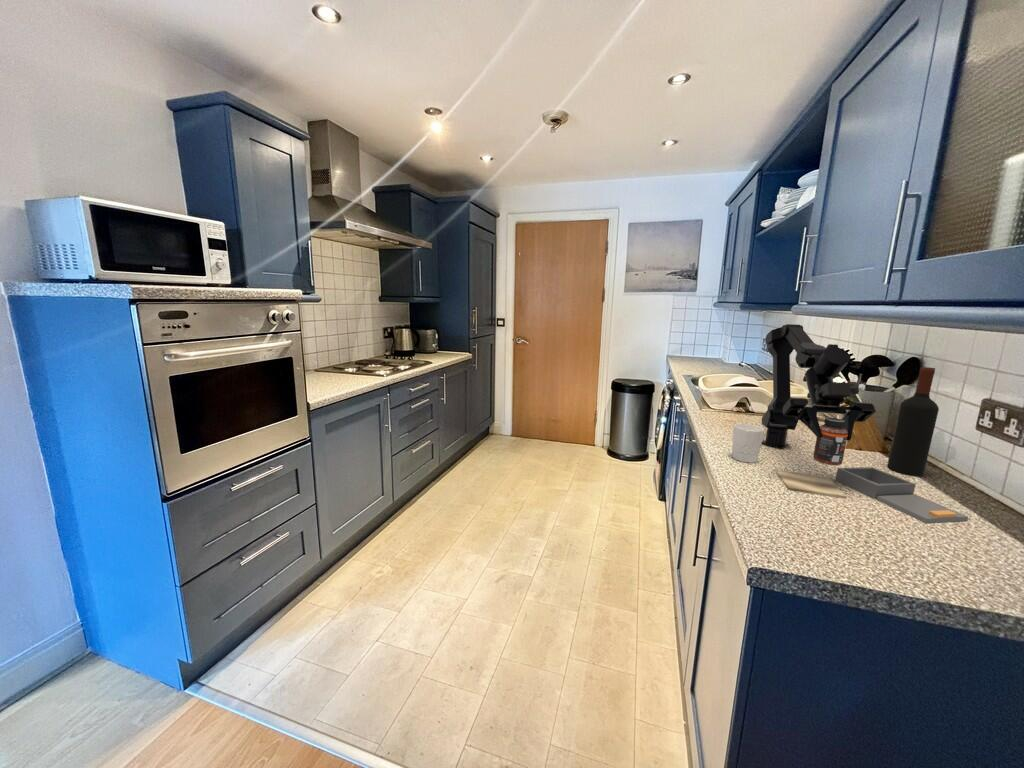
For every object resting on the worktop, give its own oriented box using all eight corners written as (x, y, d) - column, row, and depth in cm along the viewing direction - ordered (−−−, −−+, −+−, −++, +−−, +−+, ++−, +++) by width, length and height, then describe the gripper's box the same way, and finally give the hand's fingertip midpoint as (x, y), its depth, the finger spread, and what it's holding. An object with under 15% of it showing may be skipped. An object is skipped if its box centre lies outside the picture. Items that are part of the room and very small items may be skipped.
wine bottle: (892, 472, 114) (915, 368, 108) (883, 463, 121) (904, 364, 115) (928, 478, 111) (953, 370, 105) (917, 469, 117) (940, 367, 112)
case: (835, 480, 108) (837, 468, 107) (870, 479, 109) (872, 467, 109) (925, 522, 87) (929, 508, 86) (967, 520, 88) (971, 506, 88)
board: (775, 471, 113) (775, 469, 113) (826, 479, 109) (827, 476, 109) (788, 489, 102) (788, 487, 102) (845, 498, 98) (846, 496, 98)
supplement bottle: (843, 468, 99) (852, 424, 97) (813, 462, 102) (821, 420, 100) (840, 460, 104) (848, 418, 102) (811, 455, 107) (819, 414, 105)
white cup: (751, 454, 126) (756, 424, 124) (764, 464, 118) (769, 431, 116) (725, 453, 126) (729, 422, 125) (736, 463, 119) (741, 430, 117)
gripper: (794, 367, 104) (805, 419, 96) (879, 371, 100) (899, 427, 92) (777, 390, 114) (787, 440, 105) (855, 395, 109) (871, 448, 101)
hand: (834, 438), depth 101 cm, fingers closed on supplement bottle, 6 cm apart
